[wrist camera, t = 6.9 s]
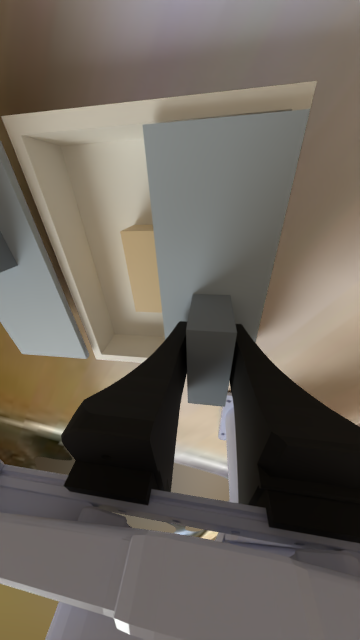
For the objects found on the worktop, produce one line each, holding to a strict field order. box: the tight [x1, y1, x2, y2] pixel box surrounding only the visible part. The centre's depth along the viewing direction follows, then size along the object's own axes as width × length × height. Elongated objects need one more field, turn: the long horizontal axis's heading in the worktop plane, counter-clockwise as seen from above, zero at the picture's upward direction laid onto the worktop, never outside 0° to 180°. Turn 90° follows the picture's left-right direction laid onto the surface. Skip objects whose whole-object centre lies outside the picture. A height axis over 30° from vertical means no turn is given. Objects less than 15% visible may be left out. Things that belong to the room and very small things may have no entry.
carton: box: [1, 81, 317, 363], centre depth 12 cm, size 14×12×3 cm
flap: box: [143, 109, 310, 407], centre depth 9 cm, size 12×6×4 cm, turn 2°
